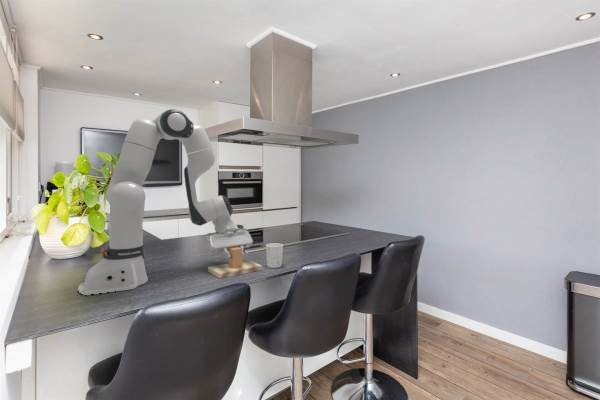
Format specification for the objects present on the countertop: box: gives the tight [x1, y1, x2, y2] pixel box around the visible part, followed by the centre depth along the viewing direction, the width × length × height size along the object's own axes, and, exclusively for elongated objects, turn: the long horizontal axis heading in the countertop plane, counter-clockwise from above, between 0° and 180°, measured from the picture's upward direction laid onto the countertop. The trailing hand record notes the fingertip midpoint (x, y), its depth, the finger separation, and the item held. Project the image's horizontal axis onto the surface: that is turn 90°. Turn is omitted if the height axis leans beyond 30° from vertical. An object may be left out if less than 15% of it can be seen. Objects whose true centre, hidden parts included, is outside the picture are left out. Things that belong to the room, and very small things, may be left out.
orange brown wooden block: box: [228, 247, 243, 268], centre depth 132 cm, size 4×4×8 cm
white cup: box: [265, 242, 284, 269], centre depth 140 cm, size 8×8×10 cm
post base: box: [207, 259, 263, 280], centre depth 132 cm, size 20×12×9 cm, turn 129°
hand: (236, 256), depth 131 cm, fingers closed on orange brown wooden block, 4 cm apart
